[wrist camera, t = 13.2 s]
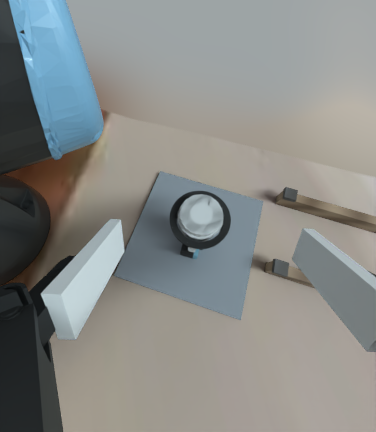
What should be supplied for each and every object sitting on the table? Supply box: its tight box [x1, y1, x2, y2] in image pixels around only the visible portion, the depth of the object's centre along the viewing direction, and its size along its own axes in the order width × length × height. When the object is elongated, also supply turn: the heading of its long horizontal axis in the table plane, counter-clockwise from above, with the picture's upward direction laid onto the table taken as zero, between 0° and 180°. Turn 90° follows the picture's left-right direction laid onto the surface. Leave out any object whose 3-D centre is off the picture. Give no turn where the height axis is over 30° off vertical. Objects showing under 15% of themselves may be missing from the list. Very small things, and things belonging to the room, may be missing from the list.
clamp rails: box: [265, 187, 376, 288], centre depth 23 cm, size 20×12×3 cm, turn 72°
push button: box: [170, 191, 231, 259], centre depth 20 cm, size 7×5×10 cm
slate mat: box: [114, 171, 263, 320], centre depth 25 cm, size 16×16×1 cm
